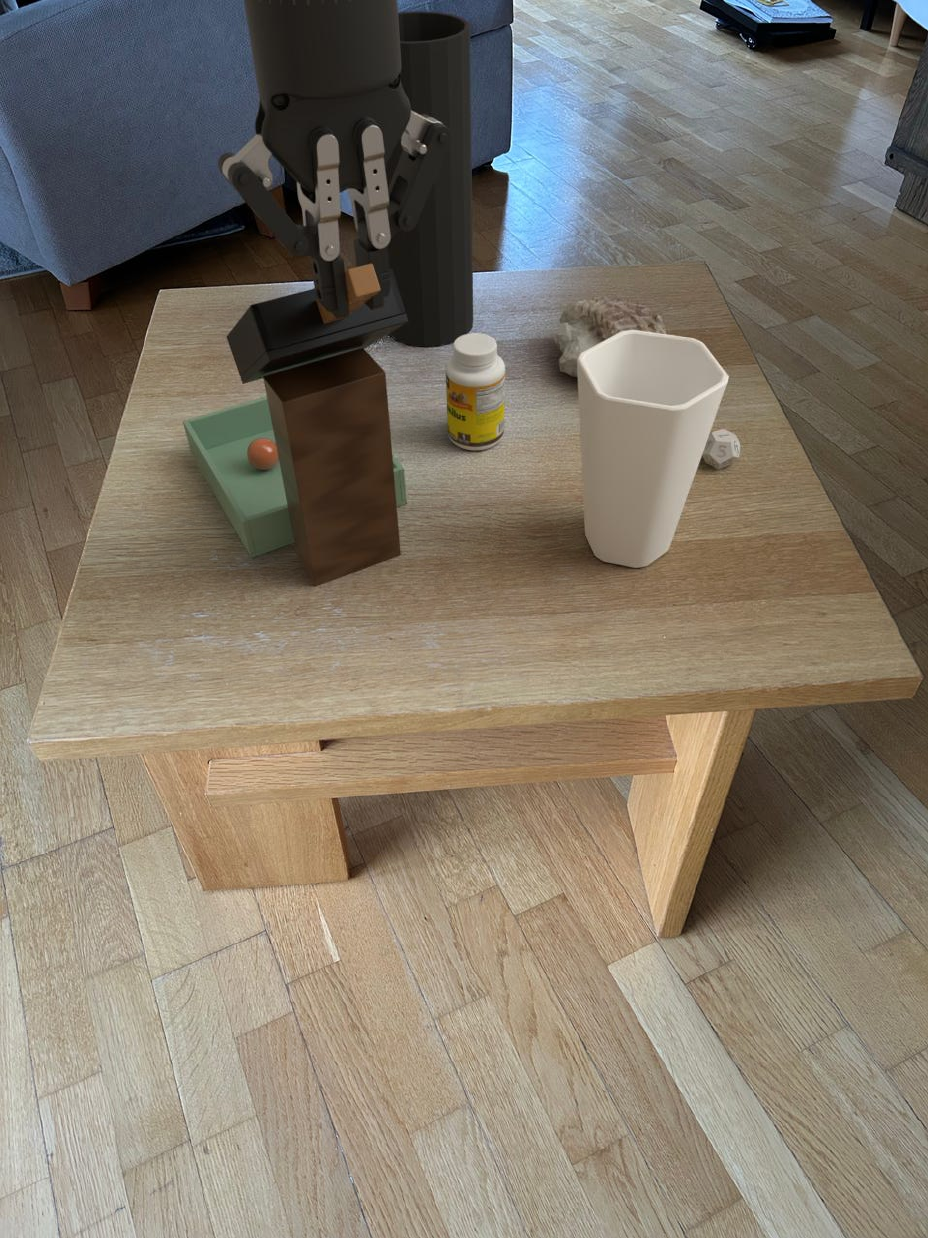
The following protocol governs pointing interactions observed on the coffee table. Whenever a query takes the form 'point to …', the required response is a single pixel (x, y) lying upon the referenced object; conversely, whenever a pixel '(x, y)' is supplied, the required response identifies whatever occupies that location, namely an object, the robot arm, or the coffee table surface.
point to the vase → (437, 184)
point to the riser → (336, 462)
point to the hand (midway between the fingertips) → (355, 307)
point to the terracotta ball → (262, 454)
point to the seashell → (599, 326)
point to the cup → (642, 438)
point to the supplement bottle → (475, 393)
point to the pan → (312, 327)
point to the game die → (721, 449)
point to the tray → (249, 474)
